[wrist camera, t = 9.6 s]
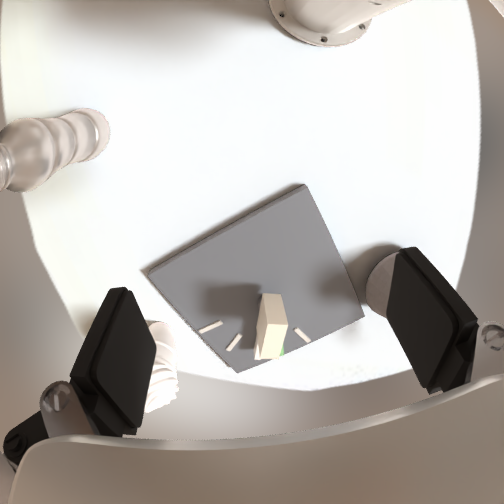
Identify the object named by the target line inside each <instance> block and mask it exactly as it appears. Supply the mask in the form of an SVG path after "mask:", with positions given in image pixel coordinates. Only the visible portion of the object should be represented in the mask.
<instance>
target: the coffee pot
mask: <svg viewBox="0 0 504 504" xmlns="http://www.w3.org/2000/svg"><path fill="white" fill-rule="evenodd" d="M397 253H399V252H395V253H393V254H391V255H389V256H387V257H385V258H384V259H383V260H382V261H380V262H379V263H378V264H377V265H376V267H375V268H374V269H373V270H372V272H371V274H370V276H369V277H368V280H367V284H366V300H367V304H368V305H369V307H370V308H371V309H372V310H373V311H374V312H376V313H377V314H379V315H381V316H383V317H385V318H387V316H386V309H387V304H388V299H389V293H390V287H391V282H392V275H393V269H394V262H395V256H396V254H397Z"/></svg>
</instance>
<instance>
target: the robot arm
mask: <svg viewBox="0 0 504 504" xmlns="http://www.w3.org/2000/svg"><path fill="white" fill-rule="evenodd" d="M409 1H412V0H269V5H270V8H271V11H272V13H273V15H274V17H275V18H276V20H277V21H278V23H279V24H280V25H281V26H282V27H283V28H284V29H285V30H286V31H288V32H289V33H290V34H291V35H293V36H295V37H296V38H298V39H299V40H302V41H304V42H307V43H309V44H312V45H316V46H322V47H339V46H343V45H347V44H349V43H352V42H354V41H356V40H357V39H359V38H360V37H361V36H362V35H363V34H364V33H365V32H366V31H367V29H368V28H369V26H370V23H371V20H372V18H373V17H375V16H378V15H380V14H382V13H384V12H386V11H388V10H391V9H393V8H395V7H397V6H400V5H402V4H404V3H407V2H409ZM489 1H490V2H491V3H492V4H493V6H495V8H496V9H497V10H498V11H499V12H500V14H501V15H502V16H503V17H504V0H489ZM280 15H283V16H284V17H280ZM359 27H360V28H361V29H360V28H359ZM321 39H323V40H324V42H322V41H321ZM386 316H387V320H388V322H389V323H390V325H391V327H392V329H393V331H394V333H395V335H396V336H397V338H398V340H399V342H400V344H401V346H402V348H403V350H404V352H405V354H406V356H407V358H408V360H409V362H410V364H411V366H412V368H413V370H414V372H415V374H416V376H417V378H418V380H419V382H420V384H421V386H422V387H423V388H426V389H427V391H428V393H429V395H430V394H432V393H435V392H438V391H440V390H442V391H443V393H442V394H439V395H436V396H433V397H431V398H428V399H425V400H422V401H419V402H416V403H413V404H411V405H407V406H404V407H401V408H398V409H394V410H391V411H388V412H385V413H381V414H377V415H374V416H370V417H366V418H362V419H358V420H354V421H350V422H345V423H341V424H336V425H332V426H327V427H322V428H316V429H311V430H305V431H299V432H292V433H285V434H278V435H269V436H260V437H250V438H237V439H220V440H156V439H135V438H122V435H123V434H126V435H136V432H137V428H139V427H140V426H141V424H142V419H143V414H144V409H145V404H146V398H147V393H148V389H149V384H150V379H151V374H152V370H153V365H154V361H155V356H156V351H157V347H156V343H155V340H154V338H153V336H152V334H151V332H150V330H149V328H148V326H147V324H146V322H145V319H144V317H143V315H142V313H141V311H140V308H139V306H138V304H137V302H136V299H135V297H134V295H133V293H132V291H130V290H129V291H128V289H127V288H126V287H119V288H111V289H110V290H109V291H108V293H107V295H106V297H105V299H104V301H103V303H102V305H101V307H100V309H99V311H98V313H97V315H96V317H95V319H94V321H93V323H92V325H91V328H90V330H89V332H88V334H87V336H86V338H85V341H84V343H83V345H82V347H81V350H80V352H79V354H78V356H77V359H76V361H75V363H74V366H73V368H72V371H71V373H70V377H71V380H70V382H69V383H68V382H67V381H56V382H54V383H52V384H50V385H49V386H48V387H47V388H46V389H45V390H44V391H43V393H42V395H41V397H40V402H39V403H40V411H38V412H37V413H35V414H34V415H32V416H31V417H30V418H28V419H27V420H25V421H24V422H22V423H21V424H19V425H18V426H16V427H15V428H13V429H12V430H11V431H9V433H8V434H7V435H6V437H5V440H4V444H3V449H4V453H2V452H1V451H0V504H504V325H502V324H500V323H498V322H493V321H489V322H485V323H483V324H481V325H480V326H479V325H478V324H477V320H478V318H477V317H476V316H475V315H474V313H473V312H472V311H471V309H470V308H469V307H468V306H467V304H466V303H465V302H464V301H463V300H462V298H461V297H460V296H459V295H458V293H457V292H456V291H455V290H454V288H453V287H452V286H451V285H450V284H449V283H448V281H447V280H446V279H445V278H444V277H443V276H442V275H441V273H440V272H439V271H438V270H437V269H436V268H435V267H434V266H433V264H432V263H431V262H430V261H429V260H428V259H427V258H426V257H425V256H424V255H423V254H422V252H421V251H420V250H419V249H418V248H417V247H409V248H403V249H401V250H400V251H399V253H397V254H396V256H395V262H394V269H393V275H392V282H391V287H390V293H389V299H388V304H387V309H386Z"/></svg>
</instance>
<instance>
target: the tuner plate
mask: <svg viewBox="0 0 504 504" xmlns="http://www.w3.org/2000/svg"><path fill="white" fill-rule="evenodd" d="M148 277H149V279H150V280H151V281H152V282H153V283H154V284H155V286H156V287H157V288H158V289H159V290H160V292H161V293H162V294H163V295H164V296H165V297H166V298H167V300H168V301H169V302H170V303H171V304H172V305H173V306H174V308H175V309H176V310H177V311H178V312H179V313H180V314H181V315H182V316H183V318H184V319H185V320H186V321H187V322H188V323H189V324H190V325H191V326H192V327H193V328H194V329H195V331H196V332H197V333H198V334H199V335H200V336H201V337H202V338H203V339H204V340H205V341H206V342H207V343H208V344H209V345H210V346H211V347H212V348H213V349H214V351H215V352H216V353H217V354H218V355H219V356H220V357H221V358H222V359H223V360H224V361H225V362H226V363H227V364H228V365H229V366H230V367H231V368H232V369H233V370H234V371H235V372H236V373H239V372H242V371H245V370H247V369H250V368H252V367H255V366H258V365H260V364H263V363H265V362H267V361H270V360H272V359H261V360H254V346H255V341H256V336H257V329H256V326H257V321H258V316H259V306H258V300H259V298H260V297H261V296H262V295H263V293H269V294H281V297H282V301H283V305H284V309H285V313H286V317H287V322H288V328H287V331H286V335H285V338H284V342H283V345H282V349H281V352H280V356H282V355H284V354H287V353H289V352H291V351H293V350H296V349H298V348H300V347H303V346H305V345H307V344H309V343H311V342H314V341H316V340H318V339H320V338H322V337H324V336H326V335H328V334H331V333H333V332H335V331H337V330H339V329H341V328H343V327H345V326H347V325H349V324H351V323H353V322H355V321H357V320H359V319H361V318H363V317H364V316H365V315H364V312H363V310H362V307H361V305H360V302H359V300H358V297H357V295H356V293H355V290H354V288H353V285H352V283H351V280H350V278H349V276H348V273H347V271H346V269H345V266H344V264H343V262H342V260H341V257H340V255H339V253H338V250H337V248H336V246H335V244H334V242H333V239H332V237H331V235H330V233H329V231H328V228H327V226H326V224H325V222H324V220H323V218H322V216H321V214H320V212H319V209H318V207H317V205H316V203H315V201H314V199H313V197H312V195H311V193H310V191H309V189H308V187H307V186H306V185H305V184H304V185H302V186H300V187H298V188H297V189H295V190H293V191H291V192H289V193H287V194H285V195H283V196H281V197H280V198H278V199H276V200H274V201H272V202H270V203H268V204H266V205H265V206H263V207H261V208H259V209H257V210H255V211H254V212H252V213H250V214H248V215H246V216H244V217H243V218H241V219H239V220H237V221H235V222H233V223H232V224H230V225H228V226H226V227H224V228H223V229H221V230H219V231H217V232H215V233H214V234H212V235H210V236H208V237H207V238H205V239H203V240H201V241H200V242H198V243H196V244H194V245H192V246H191V247H189V248H187V249H185V250H184V251H182V252H180V253H179V254H177V255H175V256H173V257H172V258H170V259H168V260H166V261H165V262H163V263H161V264H160V265H158V266H156V267H154V268H153V269H151V270H150V271H149V273H148Z"/></svg>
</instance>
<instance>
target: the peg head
mask: <svg viewBox="0 0 504 504" xmlns="http://www.w3.org/2000/svg"><path fill="white" fill-rule="evenodd" d="M258 306H259V316H258V321H257V326H256V329H257V336H256V341H255V346H254V360H261V359H279V356H280V352H281V349H282V345H283V342H284V338H285V335H286V331H287V328H288V322H287V317H286V313H285V309H284V305H283V301H282V297H281V294H269V293H263V295H262V296H261V297H260V298H259V300H258Z"/></svg>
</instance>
